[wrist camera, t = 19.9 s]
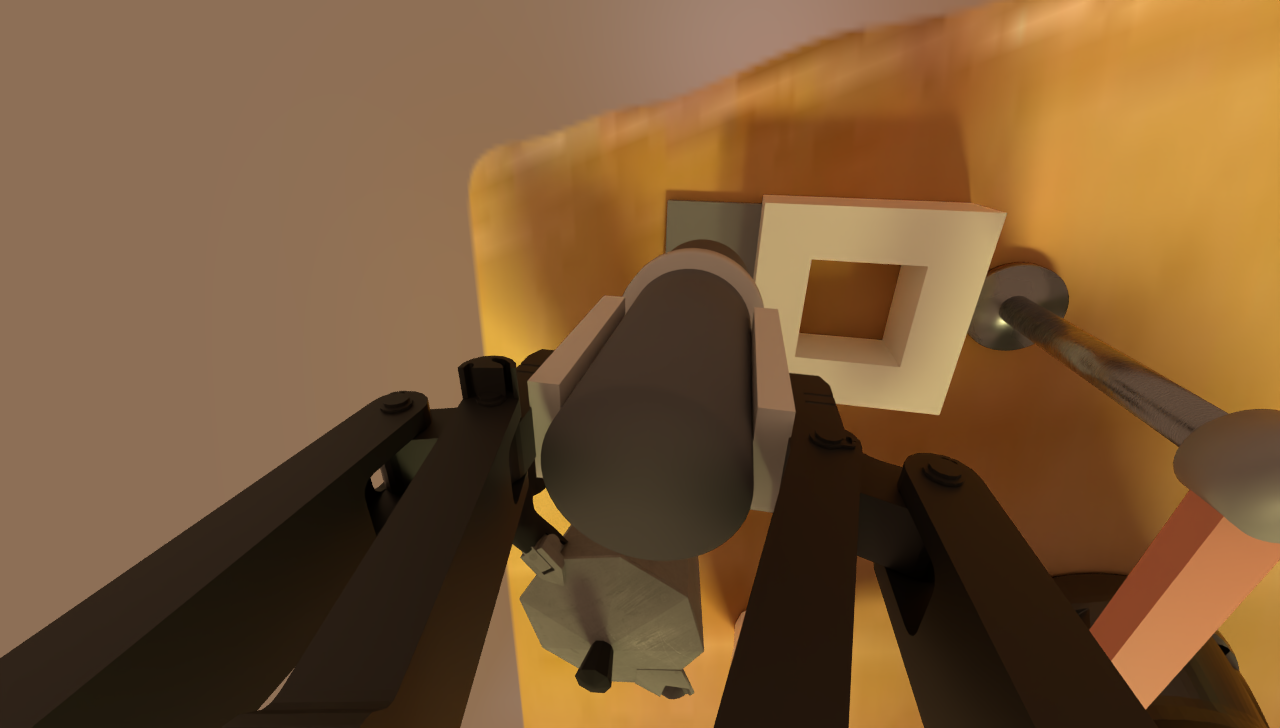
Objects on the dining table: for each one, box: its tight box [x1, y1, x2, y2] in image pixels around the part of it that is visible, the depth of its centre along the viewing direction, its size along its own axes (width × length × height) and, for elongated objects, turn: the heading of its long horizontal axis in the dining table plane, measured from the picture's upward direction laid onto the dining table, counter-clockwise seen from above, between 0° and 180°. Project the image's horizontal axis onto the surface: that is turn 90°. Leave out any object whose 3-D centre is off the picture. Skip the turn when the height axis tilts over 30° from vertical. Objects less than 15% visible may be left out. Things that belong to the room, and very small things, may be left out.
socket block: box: [753, 195, 1007, 415], centre depth 27 cm, size 11×11×4 cm
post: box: [967, 262, 1228, 447], centre depth 21 cm, size 5×5×14 cm
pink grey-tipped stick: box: [1089, 409, 1280, 710], centre depth 17 cm, size 17×3×2 cm, turn 177°
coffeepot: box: [512, 459, 704, 699], centre depth 29 cm, size 15×9×18 cm, turn 37°
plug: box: [541, 239, 764, 561], centre depth 16 cm, size 5×5×14 cm
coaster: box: [666, 200, 762, 279], centre depth 29 cm, size 6×6×1 cm
